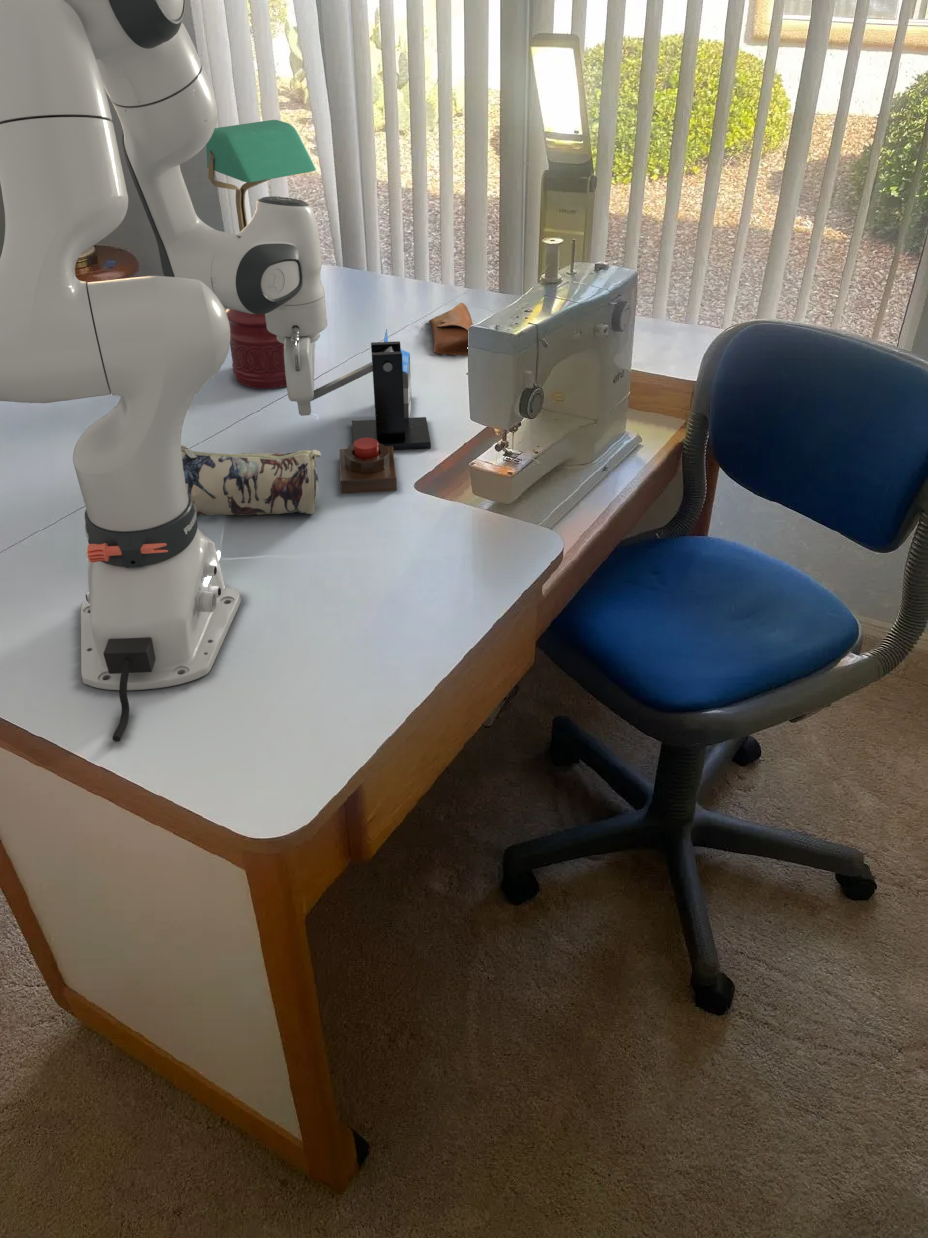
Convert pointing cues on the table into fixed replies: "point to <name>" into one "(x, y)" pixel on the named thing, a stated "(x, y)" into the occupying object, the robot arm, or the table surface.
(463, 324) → the sunglasses case
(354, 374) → the lever
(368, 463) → the control block
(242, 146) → the banker's lamp
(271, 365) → the kitchen canister
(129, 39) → the robot arm
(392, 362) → the bracket
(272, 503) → the pencil case
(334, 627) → the table surface
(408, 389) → the tape cartridge
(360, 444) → the button
